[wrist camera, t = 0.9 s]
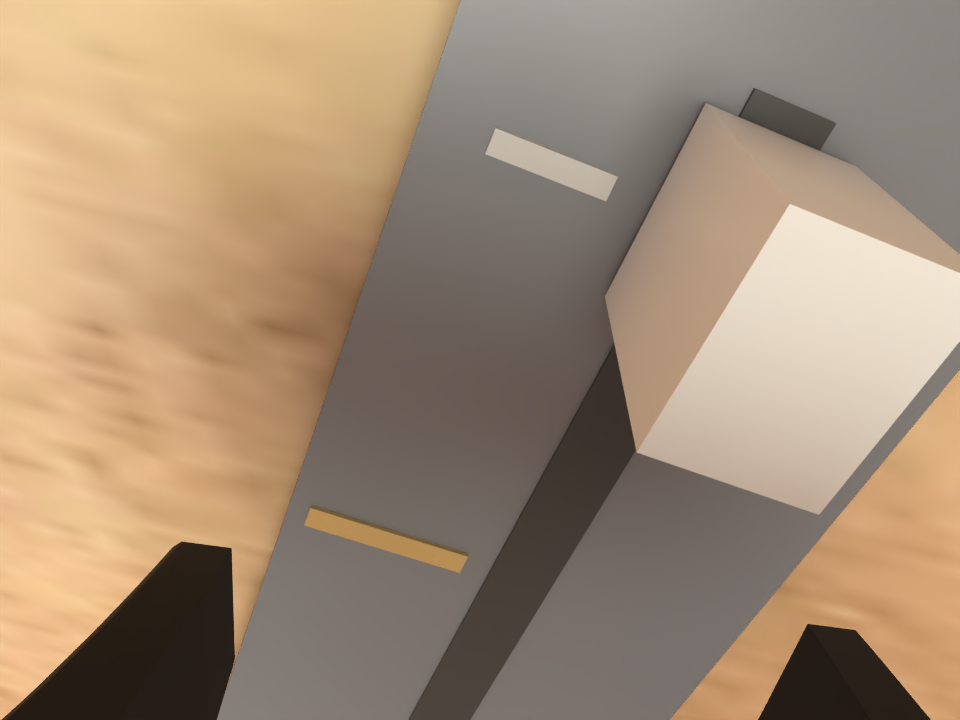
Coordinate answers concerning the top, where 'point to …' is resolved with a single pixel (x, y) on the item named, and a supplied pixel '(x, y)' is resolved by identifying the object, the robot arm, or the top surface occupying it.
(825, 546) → the top surface
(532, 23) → the fader console
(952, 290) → the fader tab
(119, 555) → the top surface
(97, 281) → the top surface
